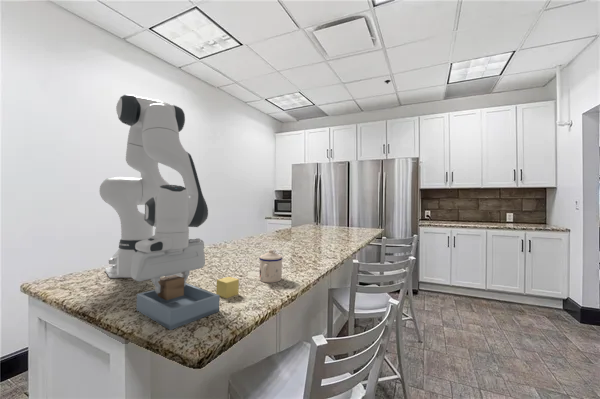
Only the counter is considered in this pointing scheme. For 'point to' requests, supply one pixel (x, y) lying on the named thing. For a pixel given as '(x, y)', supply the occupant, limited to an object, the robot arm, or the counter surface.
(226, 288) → the mustard block
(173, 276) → the walnut block
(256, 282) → the counter surface
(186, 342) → the counter surface
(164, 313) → the tray
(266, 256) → the teacup with lid
